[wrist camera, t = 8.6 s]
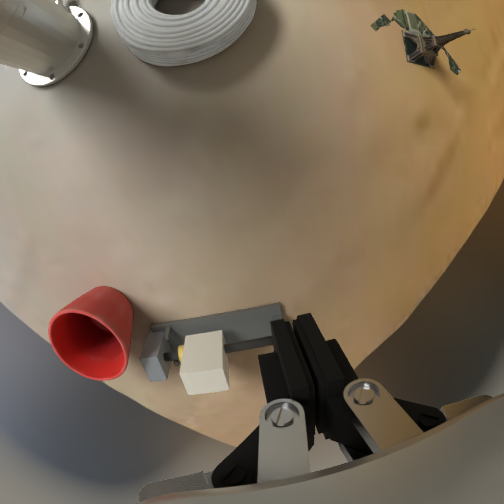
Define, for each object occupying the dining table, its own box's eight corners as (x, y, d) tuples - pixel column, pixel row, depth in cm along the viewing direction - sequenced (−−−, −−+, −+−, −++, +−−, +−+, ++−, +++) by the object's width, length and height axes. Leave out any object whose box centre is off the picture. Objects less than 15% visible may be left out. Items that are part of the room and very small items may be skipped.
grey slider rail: (160, 354, 42) (152, 385, 36) (148, 324, 40) (137, 353, 34) (283, 334, 43) (293, 364, 36) (279, 302, 41) (289, 330, 34)
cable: (250, -38, 25) (255, -62, 20) (258, 62, 31) (265, 47, 25) (125, -23, 24) (112, -43, 18) (118, 79, 30) (101, 68, 24)
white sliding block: (192, 356, 40) (188, 395, 32) (185, 335, 38) (179, 373, 31) (227, 350, 40) (229, 389, 32) (222, 330, 38) (222, 368, 31)
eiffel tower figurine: (460, 71, 32) (517, 62, 20) (434, 104, 34) (497, 99, 21) (400, 0, 28) (449, -31, 15) (367, 27, 30) (418, -8, 17)
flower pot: (121, 352, 42) (103, 394, 32) (66, 308, 38) (37, 343, 29) (158, 311, 40) (143, 353, 31) (98, 260, 37) (67, 291, 28)
